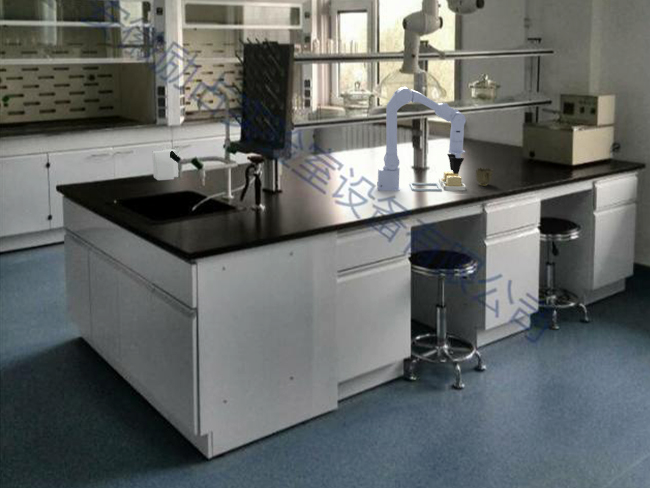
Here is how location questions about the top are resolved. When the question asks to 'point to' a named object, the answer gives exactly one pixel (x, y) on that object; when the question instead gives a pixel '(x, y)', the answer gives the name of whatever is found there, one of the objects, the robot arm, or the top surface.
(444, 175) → the billet
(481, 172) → the cup
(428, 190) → the tote
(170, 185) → the top surface
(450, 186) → the grey rectangular tray
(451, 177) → the billet
